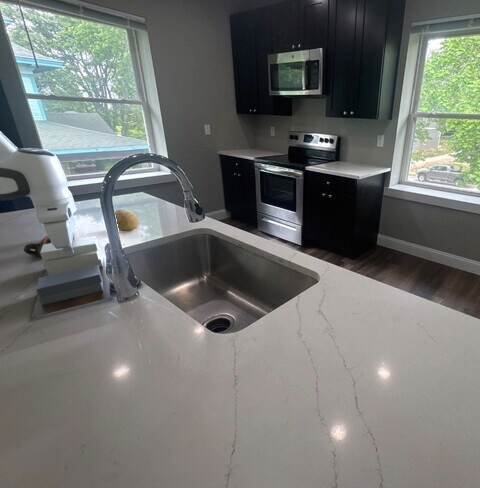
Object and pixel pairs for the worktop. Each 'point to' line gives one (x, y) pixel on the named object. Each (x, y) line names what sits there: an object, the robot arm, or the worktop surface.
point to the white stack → (73, 262)
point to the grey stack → (69, 284)
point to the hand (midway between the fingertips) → (71, 249)
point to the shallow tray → (74, 301)
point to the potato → (126, 220)
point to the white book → (77, 245)
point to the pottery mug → (36, 246)
